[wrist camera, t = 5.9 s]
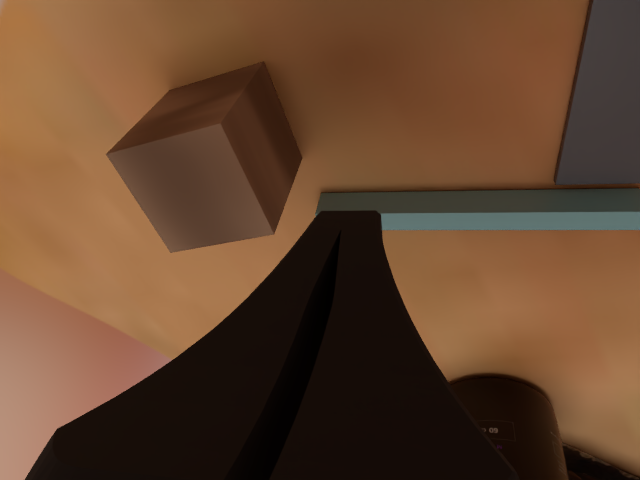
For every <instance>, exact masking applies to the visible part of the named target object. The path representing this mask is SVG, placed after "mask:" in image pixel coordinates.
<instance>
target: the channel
mask: <svg viewBox="0 0 640 480" xmlns="http://www.w3.org/2000/svg"><path fill="white" fill-rule="evenodd" d="M554 182H555V185H572V184H629V183H640V0H590V4H589V9H588V14H587V19H586V24H585V29H584V34H583V39H582V44H581V49H580V54H579V58H578V63H577V68H576V73H575V78H574V83H573V88H572V93H571V98H570V103H569V108H568V113H567V118H566V123H565V128H564V133H563V138H562V143H561V148H560V152H559V157H558V162H557V167H556V172H555V177H554ZM357 210H376V211H377V212H378V213H380V214H381V221H382V230H640V189H639V188H612V189H548V190H484V191H420V192H356V193H321V195H320V199H319V203H318V206H317V210H316V213H315V215H316V216H317V215H318V214H319V213H320V212H321V211H357Z"/></svg>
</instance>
